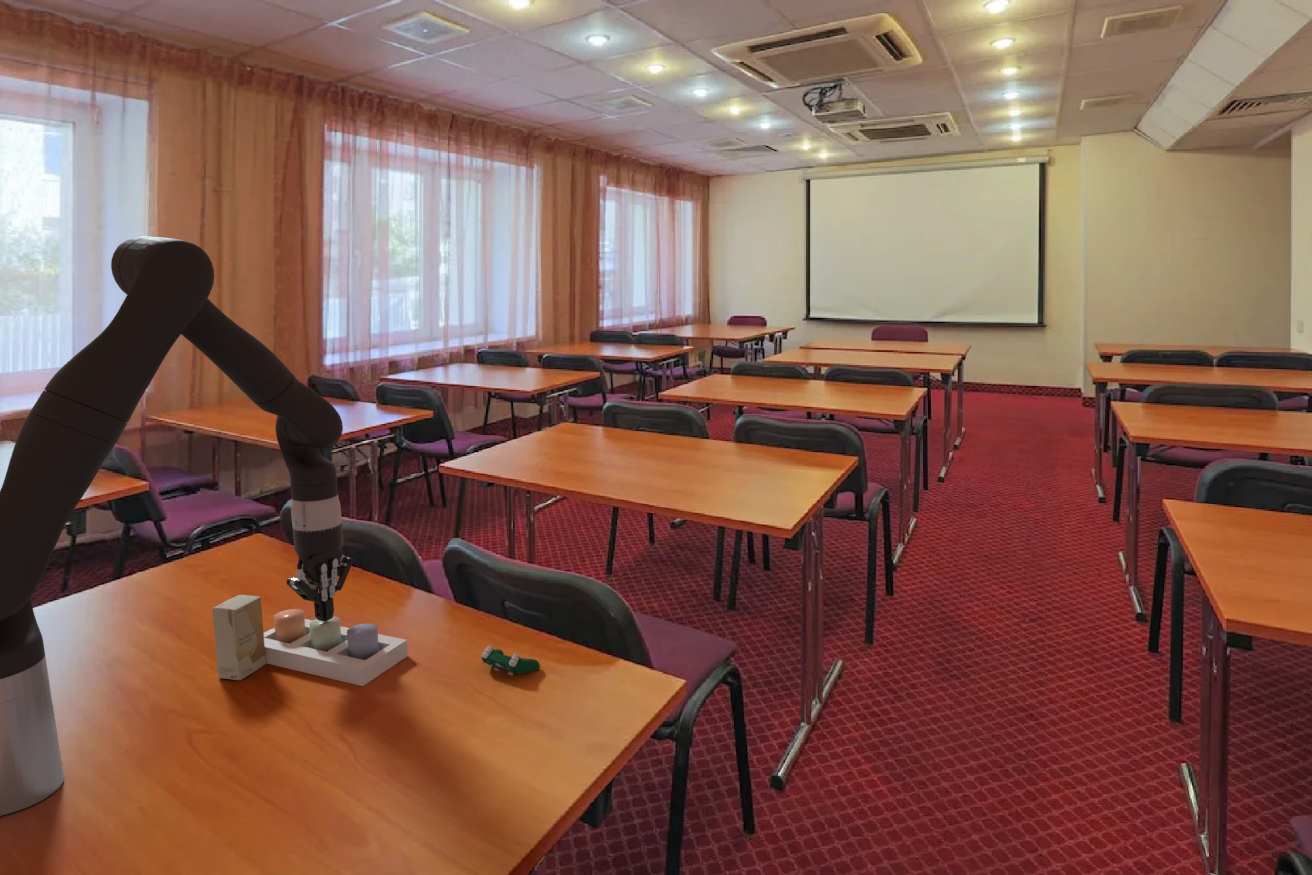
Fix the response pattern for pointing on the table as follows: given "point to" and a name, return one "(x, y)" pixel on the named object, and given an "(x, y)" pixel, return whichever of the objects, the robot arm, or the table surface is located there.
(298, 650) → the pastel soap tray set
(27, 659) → the robot arm
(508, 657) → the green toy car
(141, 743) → the table surface
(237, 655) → the skincare box
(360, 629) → the blue button
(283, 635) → the terracotta button
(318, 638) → the green button
